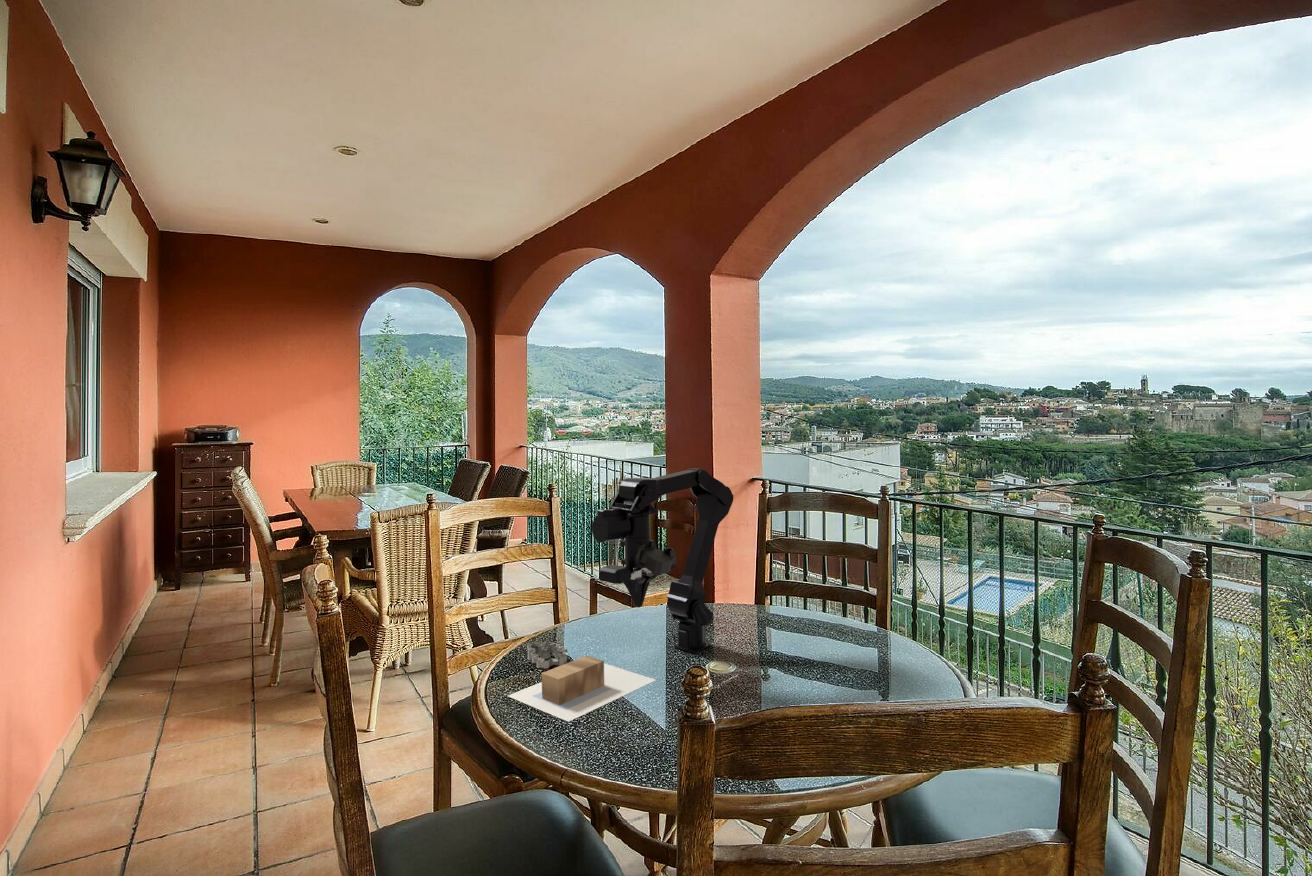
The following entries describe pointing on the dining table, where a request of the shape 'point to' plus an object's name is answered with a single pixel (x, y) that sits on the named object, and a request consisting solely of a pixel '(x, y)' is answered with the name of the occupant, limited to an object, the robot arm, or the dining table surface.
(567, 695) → the oak block
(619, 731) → the dining table surface
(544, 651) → the egg carton
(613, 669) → the mat
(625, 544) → the robot arm
